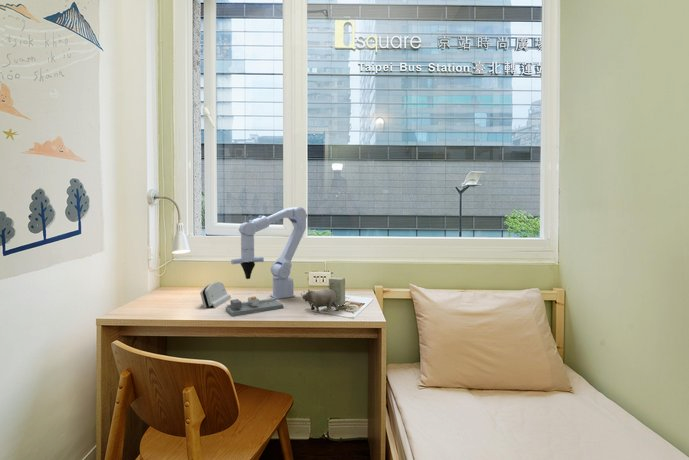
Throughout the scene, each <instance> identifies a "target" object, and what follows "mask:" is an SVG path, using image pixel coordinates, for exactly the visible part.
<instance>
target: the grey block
mask: <svg viewBox="0 0 689 460" xmlns="http://www.w3.org/2000/svg"><path fill="white" fill-rule="evenodd" d="M259 300H260V299H259V298H258V297H257V296H250V297H248V298H247V302H248V304H250V305H251V306H257V305H259Z"/></svg>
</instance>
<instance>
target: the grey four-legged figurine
mask: <svg viewBox="0 0 689 460" xmlns="http://www.w3.org/2000/svg"><path fill="white" fill-rule="evenodd" d="M303 293H304V294H302V293H300V295H301V298H302V299H303V300H304V301H305V302H306V303H307V302H309V303H310V304H311V306H310V308H311V310H313V309H314V308H315V309H316V311H315V312H314V314H317V313H318V314H319V312H320V310H319V308H322V307H326V310H325V312H329V311H330V310H331V309H332V306H331V305H333V307H334V310H335V309H337V310H338V309H339V308H340V307H338V305H337V303H336V302H335V300H336V298H337V297H338V296H337V294H336V292H335V291H334V290H331V289H330V290H329V288H328V289H327V288H322V289H321V290H317V291H316V290H310V289H307V292H305V291H304V290H303ZM339 310H340V309H339ZM339 310H338V311H339Z"/></svg>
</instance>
